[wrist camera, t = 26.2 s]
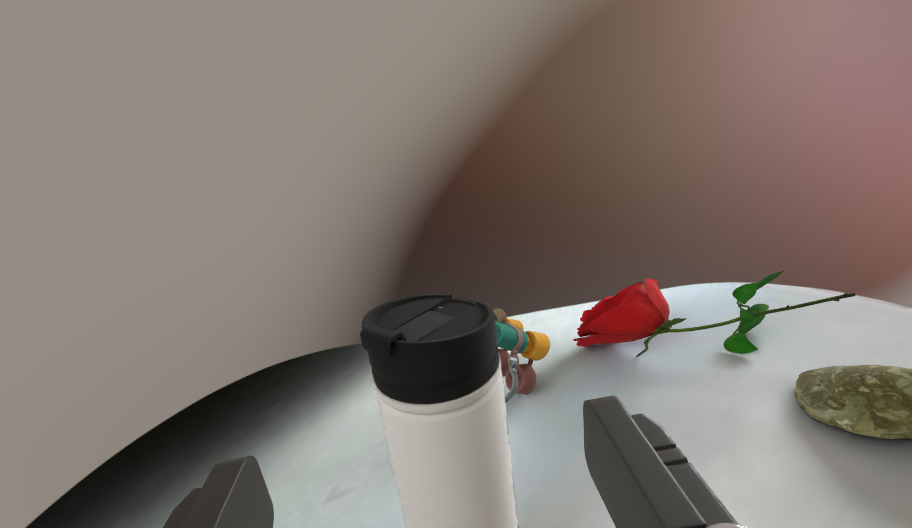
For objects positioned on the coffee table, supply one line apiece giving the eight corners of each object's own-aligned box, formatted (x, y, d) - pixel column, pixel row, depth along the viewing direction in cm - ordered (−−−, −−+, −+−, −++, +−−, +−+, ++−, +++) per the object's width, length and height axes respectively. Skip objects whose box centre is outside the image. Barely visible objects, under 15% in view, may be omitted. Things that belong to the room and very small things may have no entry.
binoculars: (530, 425, 45) (566, 334, 45) (462, 420, 40) (501, 317, 39) (478, 384, 53) (507, 305, 52) (414, 375, 48) (447, 287, 47)
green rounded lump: (780, 356, 44) (893, 303, 38) (836, 400, 45) (957, 354, 38) (805, 443, 37) (951, 395, 30) (872, 495, 37) (1031, 458, 30)
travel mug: (399, 614, 27) (324, 322, 20) (464, 530, 32) (422, 270, 25) (483, 687, 23) (426, 357, 16) (543, 579, 28) (519, 287, 21)
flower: (839, 228, 48) (561, 277, 52) (903, 297, 42) (582, 348, 45) (807, 280, 55) (563, 320, 58) (858, 346, 49) (581, 387, 52)
